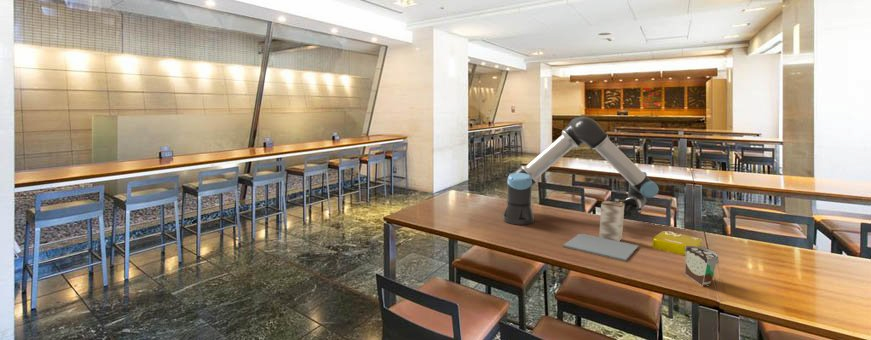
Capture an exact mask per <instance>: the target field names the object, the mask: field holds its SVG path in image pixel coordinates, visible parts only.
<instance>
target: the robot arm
mask: <svg viewBox="0 0 871 340" xmlns="http://www.w3.org/2000/svg"><path fill="white" fill-rule="evenodd" d="M582 144H585V145H586V146H588V147H589V148H590V149H591V150H595V151H596V152H597V153H598V154H599V155H600V156H601V157H602V158H603V159H604V160H605V161H607V163H609V164H610V165H611V166H612V167H613V168H614V169H615V171H617V172H618V174H620V175H621V176H622V177H623V178H624V179H625V180H626V181H627V182H628V195H627V198H626V199H623V201H622V202H621V203H625V205H624V217H626V216H627V217H629V218H630V217H633V216H636V215H641V214H642V208H644V207H645V205H646V202H647V198H654V197H655V196H657V195H658V193H659V190H660V189H659V186H658V185H657V183H656V182H655V181H652V179H650V178H649V177H648V174H647V172H645V171H642V170H641V169H640V168H639V167H638V166H637V165H636V164H635V163H634V162H632V160H630V158H629V157H628V156H627V155H626V154H625V153H624V152H623V151H622V150H620V148H618V146H616V145H615V144H614V143H613V142H612V140H610V139H609V134H608V133H606V131H604V129H603V128H602V127H601V126H600V125H599V123H597V121H595V120H594V119H593V118H591V117H588V116H576V117H574V118H573V119H571V120H570V122H569V123H568V125H567V126H566V127H564V128H563V129H562V131H561V135H560V136H558V138H557V139H555V140H554V141H553V142H551V144H550V145H548V146H547V147H546V148H545V149H544V150H543V151H541V152H540V153H538V155H536V157H534V158H533V159H532V160H531V161H530V162H529V163H527V164H526V165H521V166H520V167H518V169H516V170H515V171H512V172H511V173H510V174H509V175H508V177H507V180H506V187H507V194H506V195H507V200H506V202H507V203H506V204H507V205H506V208H505V209H504V213H503V219H502V220H503V221H504V222H505V223H507V224H512V225H518V226H519V225H520V226H523V225H524V226H525V225H531V224H533V223H534V222H535V216H534V212H533V210H532V187H533V186H534V185H536V183H537V181H538V178H539V177H540V176H541V175H542V174H544V173H545V172H546V171H547V170H548V169H550V167H552V166H553V165H554V164H555V163H556V162H558V161H559V160H561V158H563V157H564V156H565V155H566V154H567V153H569V152H570V151H571V150H572V149H573V148H579V147H580V146H581V145H582Z"/></svg>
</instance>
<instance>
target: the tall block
mask: <svg viewBox="0 0 871 340" xmlns="http://www.w3.org/2000/svg"><path fill="white" fill-rule="evenodd" d="M624 205H625V203H622V202H617V201H609V200H604V201H602V202H601V204H600V216H599V217H600V219H599V233H598V234H599V235H598V237H600V238H605V239H610V240H615V241H620V240H621V239H622V240H623V230H624V229H623V228H624V218H625V216H624ZM622 240H621V241H622ZM621 241H620V242H621Z"/></svg>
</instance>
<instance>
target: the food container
mask: <svg viewBox="0 0 871 340" xmlns="http://www.w3.org/2000/svg"><path fill="white" fill-rule="evenodd" d="M685 251H686V255H685V256H684V257H685V260H684V275H685V276H687V277H688V278H689V277H690V279H691V280H693V282H695V281H696V282H697V283H696V282H695V283H696V284H698V283H699V284H701V285H702V286H707V285H710V284H711V285H712V283H713V277H714V273H715V269H716V265H717V264H719V263H720V261H719V256H718V254H717V253H716V252H715V251H713V250H711V249H708V248H705V247H702V248H701V247H696V246H686V247H685ZM699 284H698V285H699ZM701 285H700V286H701ZM711 285H710V286H711ZM702 286H701V287H702ZM707 287H708V286H707Z"/></svg>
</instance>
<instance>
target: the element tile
mask: <svg viewBox="0 0 871 340" xmlns="http://www.w3.org/2000/svg"><path fill="white" fill-rule="evenodd" d="M703 241H704V240H703V238H701V237H698V236H697V237H696V236H691V235H686V234H682V233H676V232H673V231H669V230H668V231H667V230H663V231H661V232H659V233H658V234H657V235H655V236H653V238H652V243H651V244H652V245H651V247H653V248H652V249H654V248H656V249H655V250H658V249H660V250H659V251H662V250H665V251H664V252H667V251H669V252H668V253H671V252H673V253H672V254H675V253H677V254H676V255H679V254H681V255H680V256H684V255H686V251H685V247H686V246H696V247H701V248H703Z"/></svg>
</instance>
